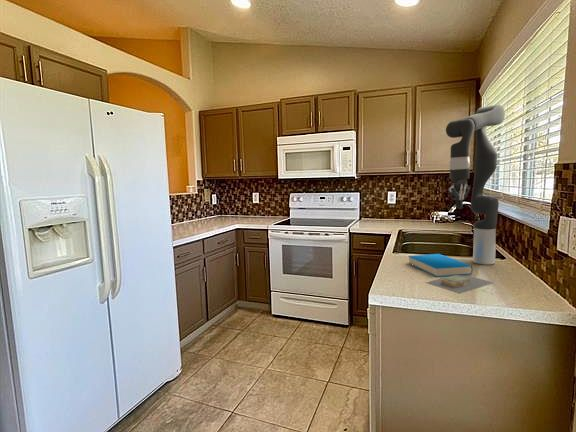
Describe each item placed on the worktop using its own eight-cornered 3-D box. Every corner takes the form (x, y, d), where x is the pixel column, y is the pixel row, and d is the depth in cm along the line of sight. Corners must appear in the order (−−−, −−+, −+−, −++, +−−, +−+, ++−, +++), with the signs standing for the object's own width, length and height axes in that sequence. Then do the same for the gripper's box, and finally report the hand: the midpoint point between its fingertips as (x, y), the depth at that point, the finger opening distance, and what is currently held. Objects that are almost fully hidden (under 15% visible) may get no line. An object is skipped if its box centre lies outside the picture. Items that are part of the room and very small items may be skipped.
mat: (459, 274, 144) (459, 273, 144) (494, 284, 131) (494, 282, 131) (425, 284, 134) (425, 282, 134) (459, 295, 121) (459, 293, 121)
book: (436, 268, 140) (408, 255, 165) (436, 277, 141) (408, 263, 165) (473, 265, 142) (439, 252, 167) (473, 274, 143) (439, 261, 167)
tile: (455, 274, 136) (441, 278, 132) (469, 278, 131) (455, 282, 126) (455, 279, 136) (441, 283, 132) (469, 283, 131) (454, 288, 127)
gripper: (461, 167, 146) (460, 206, 148) (441, 169, 139) (441, 209, 142) (477, 167, 139) (476, 207, 141) (457, 168, 133) (457, 210, 135)
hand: (459, 208), depth 142 cm, fingers closed
